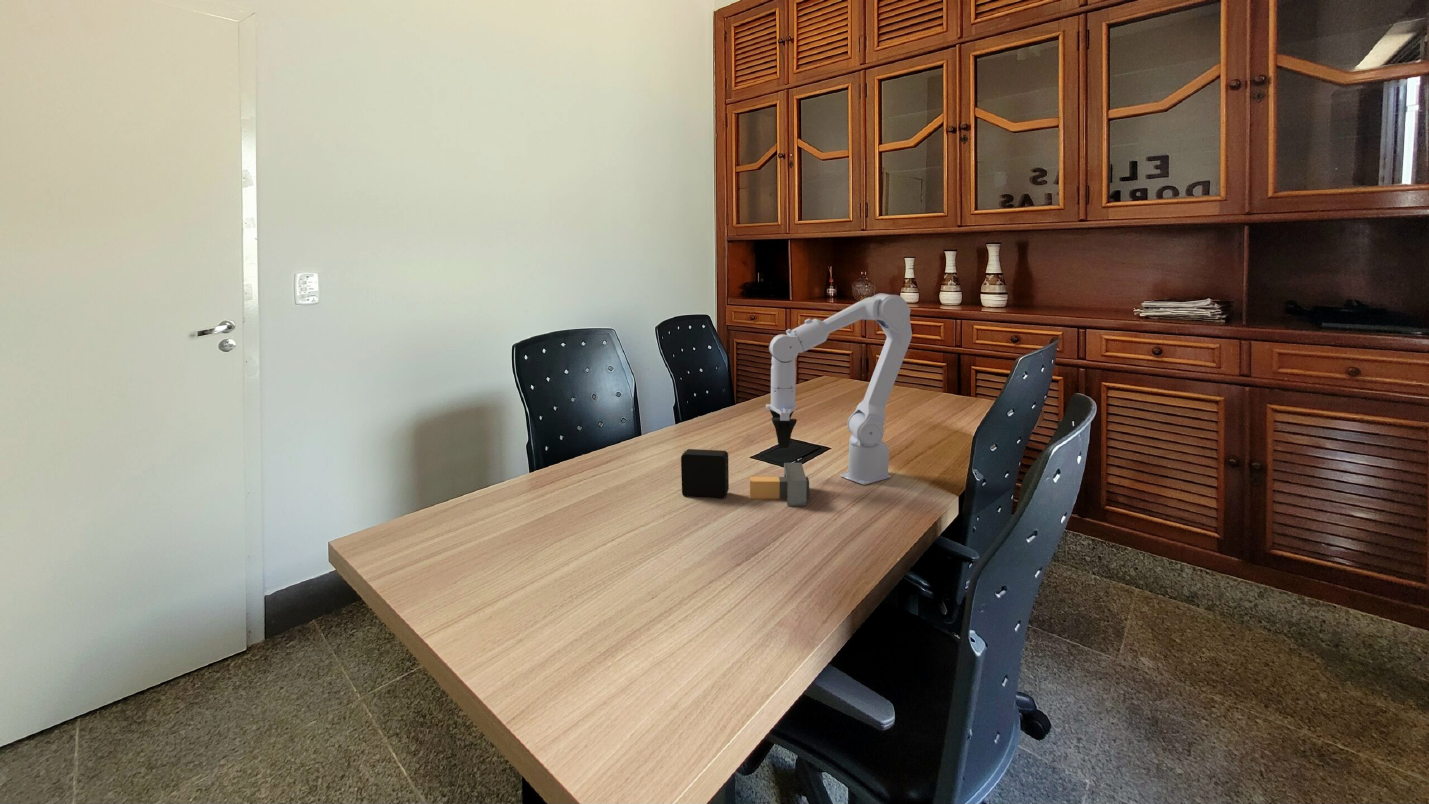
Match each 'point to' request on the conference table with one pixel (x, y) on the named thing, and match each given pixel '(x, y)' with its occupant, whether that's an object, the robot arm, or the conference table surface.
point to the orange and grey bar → (770, 487)
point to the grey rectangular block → (795, 484)
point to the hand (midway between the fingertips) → (782, 442)
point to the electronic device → (705, 473)
